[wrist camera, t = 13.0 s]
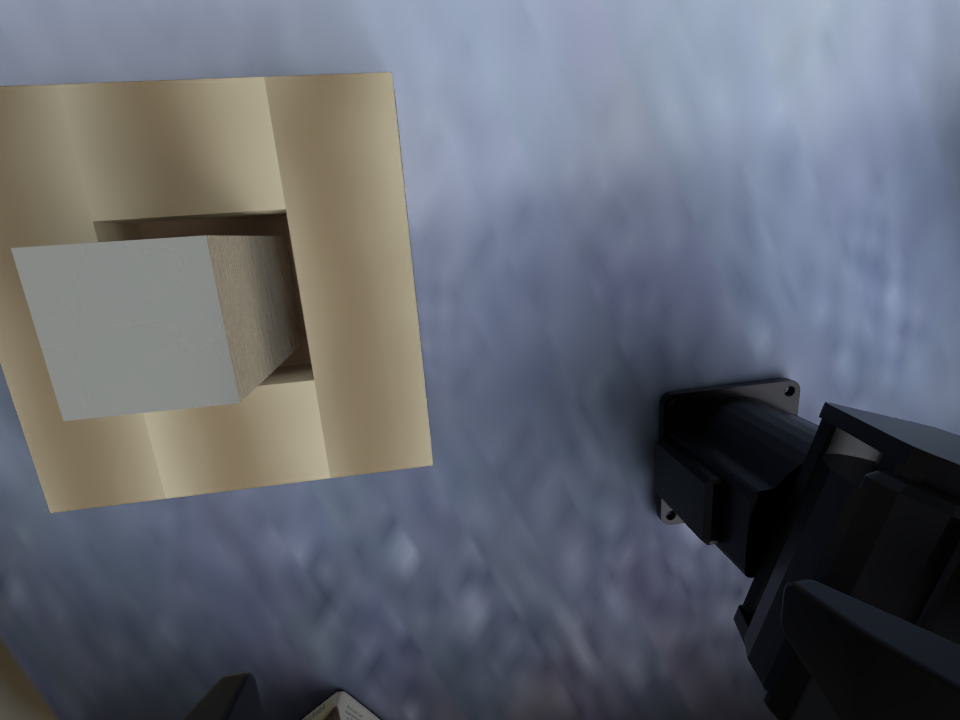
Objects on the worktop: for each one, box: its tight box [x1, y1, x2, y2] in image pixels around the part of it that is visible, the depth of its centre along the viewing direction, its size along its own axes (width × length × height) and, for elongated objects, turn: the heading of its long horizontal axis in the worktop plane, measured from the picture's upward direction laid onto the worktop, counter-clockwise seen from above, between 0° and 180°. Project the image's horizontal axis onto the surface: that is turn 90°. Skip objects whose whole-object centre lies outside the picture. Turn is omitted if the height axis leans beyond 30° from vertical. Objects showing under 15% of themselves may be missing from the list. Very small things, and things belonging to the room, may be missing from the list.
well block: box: [0, 72, 433, 513], centre depth 17 cm, size 13×13×3 cm
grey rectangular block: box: [11, 235, 303, 421], centre depth 15 cm, size 4×4×7 cm
